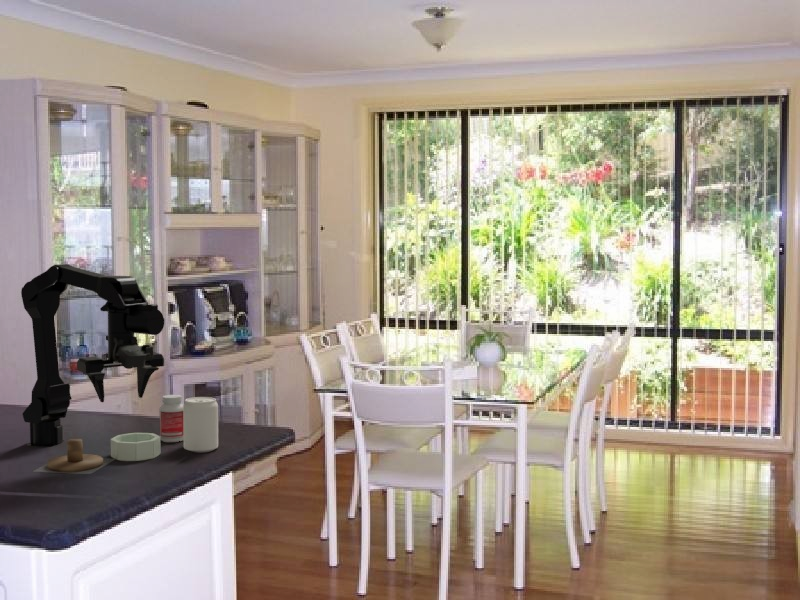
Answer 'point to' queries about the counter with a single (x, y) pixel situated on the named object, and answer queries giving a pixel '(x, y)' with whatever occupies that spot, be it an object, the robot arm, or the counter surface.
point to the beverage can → (200, 424)
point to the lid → (74, 459)
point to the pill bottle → (171, 419)
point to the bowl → (135, 446)
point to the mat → (45, 469)
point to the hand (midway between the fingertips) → (121, 399)
